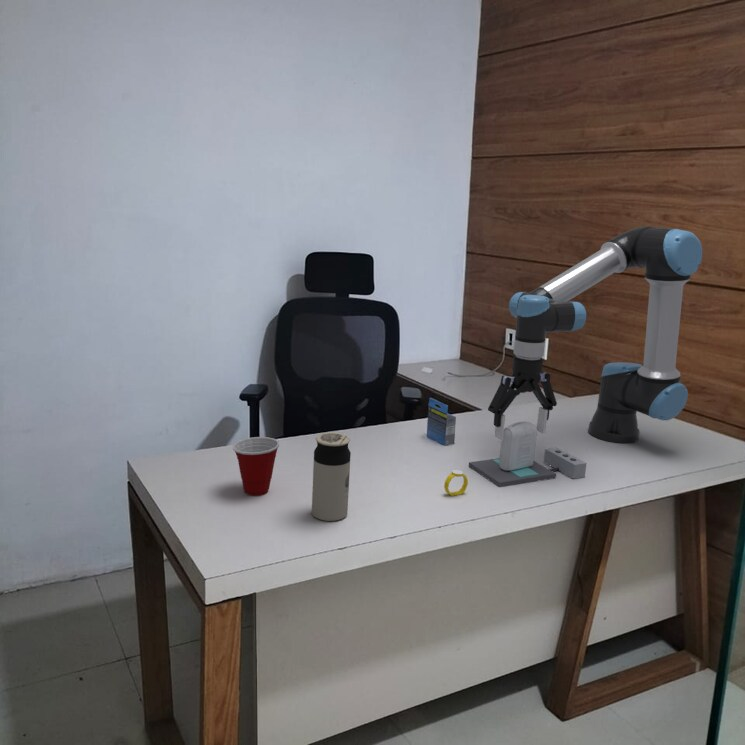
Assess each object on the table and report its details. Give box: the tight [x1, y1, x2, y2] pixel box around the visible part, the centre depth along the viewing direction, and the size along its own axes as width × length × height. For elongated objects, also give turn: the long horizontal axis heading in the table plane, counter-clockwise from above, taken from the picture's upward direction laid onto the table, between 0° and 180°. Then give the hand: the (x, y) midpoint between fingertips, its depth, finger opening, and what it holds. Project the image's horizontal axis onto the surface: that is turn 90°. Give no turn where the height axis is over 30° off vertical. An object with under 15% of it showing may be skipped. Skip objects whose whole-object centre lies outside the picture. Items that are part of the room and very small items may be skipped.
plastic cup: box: [232, 436, 280, 497], centre depth 166 cm, size 11×11×12 cm
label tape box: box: [426, 397, 457, 446], centre depth 207 cm, size 9×4×12 cm, turn 34°
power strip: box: [543, 447, 587, 479], centre depth 191 cm, size 9×12×4 cm
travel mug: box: [311, 431, 351, 522], centre depth 156 cm, size 8×8×18 cm
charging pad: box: [468, 457, 557, 488], centre depth 188 cm, size 18×14×1 cm
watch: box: [443, 469, 469, 497], centre depth 172 cm, size 6×3×6 cm, turn 118°
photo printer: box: [499, 421, 538, 471], centre depth 187 cm, size 10×4×12 cm, turn 124°
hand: (520, 435), depth 186 cm, fingers open, 13 cm apart
